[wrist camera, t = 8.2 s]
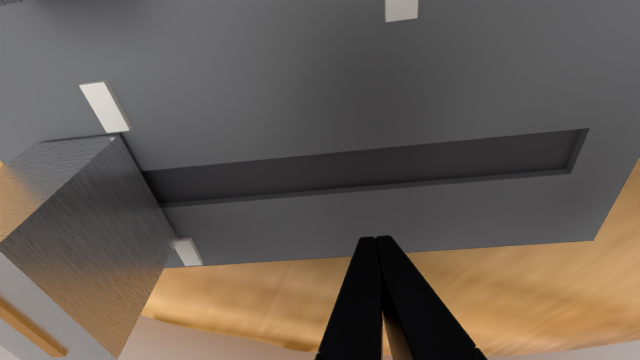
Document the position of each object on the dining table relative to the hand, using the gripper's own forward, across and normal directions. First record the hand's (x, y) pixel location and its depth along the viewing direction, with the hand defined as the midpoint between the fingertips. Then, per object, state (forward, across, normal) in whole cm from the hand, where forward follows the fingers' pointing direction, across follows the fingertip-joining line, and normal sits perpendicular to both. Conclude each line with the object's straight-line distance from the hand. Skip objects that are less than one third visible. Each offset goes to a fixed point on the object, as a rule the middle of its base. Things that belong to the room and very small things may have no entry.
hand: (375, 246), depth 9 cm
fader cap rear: (+3, +9, 0) cm, 10 cm away
